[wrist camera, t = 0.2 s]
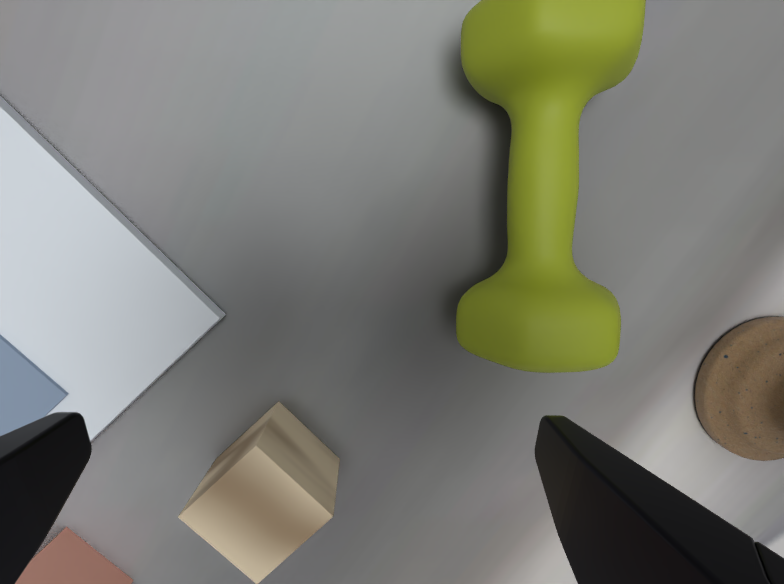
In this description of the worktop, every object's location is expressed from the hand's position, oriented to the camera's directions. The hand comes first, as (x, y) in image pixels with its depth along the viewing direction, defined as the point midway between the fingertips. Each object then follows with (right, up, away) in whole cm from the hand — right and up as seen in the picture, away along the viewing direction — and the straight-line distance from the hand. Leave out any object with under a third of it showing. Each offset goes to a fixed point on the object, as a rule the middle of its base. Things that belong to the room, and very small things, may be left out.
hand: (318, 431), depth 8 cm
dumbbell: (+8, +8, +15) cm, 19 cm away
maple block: (-5, -7, +16) cm, 18 cm away
